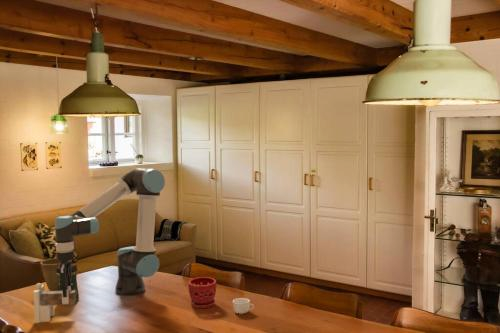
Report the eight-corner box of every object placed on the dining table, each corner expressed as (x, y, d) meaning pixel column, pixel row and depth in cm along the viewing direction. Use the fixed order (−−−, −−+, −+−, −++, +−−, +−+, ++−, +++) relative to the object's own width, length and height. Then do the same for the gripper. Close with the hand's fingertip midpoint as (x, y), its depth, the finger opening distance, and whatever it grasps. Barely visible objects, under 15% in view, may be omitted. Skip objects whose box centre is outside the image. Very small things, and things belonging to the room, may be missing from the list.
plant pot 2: (183, 306, 240) (182, 281, 239) (204, 299, 250) (203, 275, 249) (201, 312, 231) (201, 286, 230) (222, 304, 241) (221, 279, 240)
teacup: (230, 314, 228) (230, 302, 228) (236, 308, 235) (236, 297, 235) (251, 316, 224) (250, 304, 224) (256, 310, 232) (256, 299, 231)
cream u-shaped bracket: (54, 314, 233) (53, 279, 232) (49, 322, 223) (47, 285, 222) (40, 315, 232) (38, 280, 231) (34, 323, 222) (32, 286, 221)
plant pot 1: (77, 288, 271) (76, 259, 270) (54, 296, 259) (52, 265, 257) (60, 284, 279) (58, 256, 278) (36, 292, 267) (34, 262, 265)
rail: (76, 301, 231) (75, 289, 231) (74, 304, 227) (73, 292, 226) (43, 302, 229) (43, 290, 229) (41, 305, 225) (40, 293, 225)
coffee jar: (81, 298, 254) (79, 262, 253) (72, 304, 246) (71, 266, 245) (64, 298, 256) (62, 261, 255) (55, 303, 248) (53, 266, 247)
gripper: (60, 247, 235) (62, 296, 236) (51, 255, 218) (53, 308, 219) (77, 246, 236) (79, 295, 237) (69, 254, 219) (71, 307, 220)
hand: (66, 301), depth 228 cm, fingers closed on rail, 4 cm apart
